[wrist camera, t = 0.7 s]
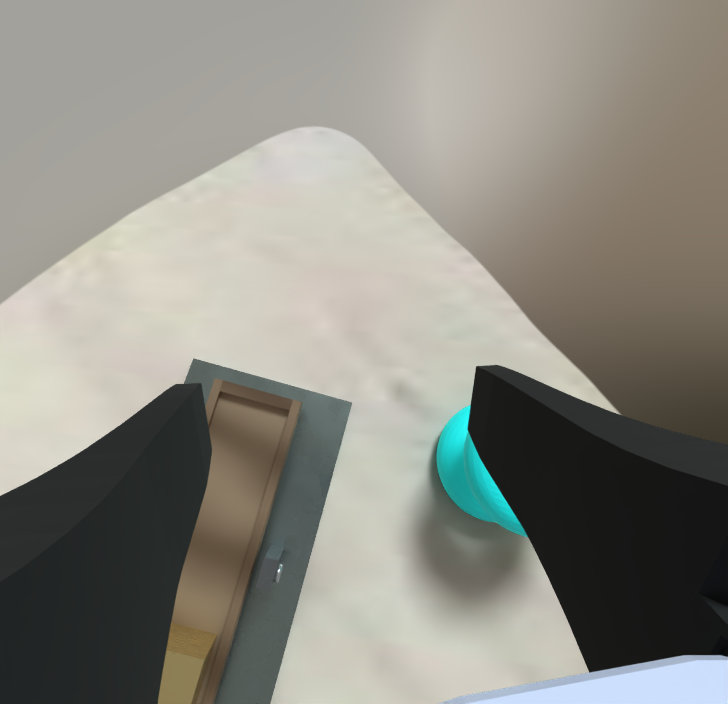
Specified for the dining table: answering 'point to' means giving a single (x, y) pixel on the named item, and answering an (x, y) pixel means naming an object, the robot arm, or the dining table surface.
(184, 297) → the dining table surface
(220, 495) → the brown long flat tray
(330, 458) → the stand
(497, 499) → the donuts
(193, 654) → the block
